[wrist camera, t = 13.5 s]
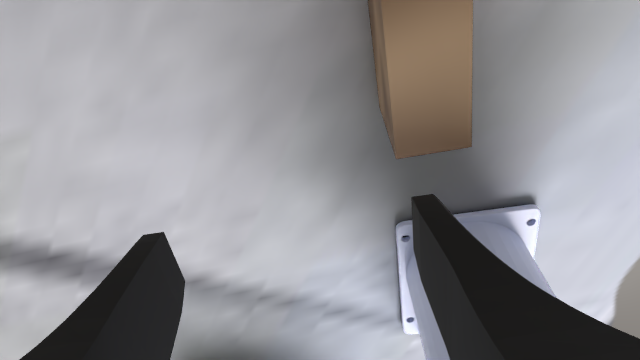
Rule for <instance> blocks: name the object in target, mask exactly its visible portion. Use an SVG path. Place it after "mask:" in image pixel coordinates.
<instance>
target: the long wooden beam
mask: <svg viewBox="0 0 640 360" xmlns="http://www.w3.org/2000/svg"><path fill="white" fill-rule="evenodd" d="M368 7H369V16H370V25H371V34H372V43H373V52H374V61H375V70H376V79H377V88H378V97H379V106H380V110H381V113H382V116H383V119H384V123H385V126H386V129H387V132H388V135H389V138H390V141H391V145H392V148H393V151H394V154H395V157H396V159H400V158H407V157H413V156H419V155H425V154H431V153H437V152H443V151H450V150H456V149H462V148H468V147H472V34H473V0H368Z"/></svg>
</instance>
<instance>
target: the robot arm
mask: <svg viewBox="0 0 640 360" xmlns="http://www.w3.org/2000/svg"><path fill="white" fill-rule="evenodd" d="M411 199H412V220H409V221H403V222H400V223H399V224H397V226H396V243H397V258H398V272H399V287H400V301H401V316H402V328H403V331H404V333H406V334H418V333H420V337H421V341H422V345H423V349H424V353H425V357H426V360H640V339H639V338H636V337H634V336H632V335H629V334H627V333H625V332H622V331H620V330H618V329H615V328H613V327H611V326H609V325H606V324H604V323H602V322H600V321H598V320H596V319H594V318H592V317H590V316H588V315H586V314H584V313H582V312H580V311H578V310H577V309H575V308H573V307H571V306H569V305H567V304H566V303H564V302H562V301H561V300H559V299H557V298H556V296H555V294H554V293H553V291H552V289H551V288H550V286H549V284H548V282H547V281H546V279H545V277H544V276H543V274H542V272H541V271H540V269H539V267H538V265H537V264H536V262H535V260H534V256H535V250H536V243H537V236H538V230H539V223H540V216H541V211H540V209H539V208H538V207H537V206H536V205H534V204H530V205H522V206H515V207H507V208H499V209H492V210H484V211H477V212H469V213H462V214H454V215H452V214H451V213H450V211H449V210H448V209H447V208H446V207H445V206H444V205H443V204H442V202H441V201H440V200H439V199H438V198H437V197H436V196H435V195H434V194H430V195H423V196H416V197H411ZM529 219H532V220H531V221H528V220H529ZM527 221H528V222H527ZM404 235H408V236H407V237H405V238H403V236H404ZM184 287H185V280H184V277H183V275H182V273H181V271H180V268H179V266H178V264H177V261H176V259H175V257H174V255H173V252H172V250H171V248H170V245H169V243H168V241H167V238H166V236H165V234H164V232H161V233H154V234H147V235H143V236H142V237H141V238H140V239H139V240H138V241H137V242H136V243H135V245H134V246H133V247H132V248H131V249H130V250H129V252H128V253H127V254H126V255H125V256H124V257H123V258H122V260H121V261H120V262H119V263H118V264H117V265H116V267H115V268H114V269H113V270H112V271H111V272H110V273H109V275H108V276H107V277H106V278H105V279H104V280H103V281H102V282H101V284H100V285H99V286H98V287H97V288H96V289H95V290H94V291H93V292H92V293H91V294H90V295H89V296H88V297H87V298H86V300H85V301H84V302H83V303H82V304H81V305H80V306H79V307H78V308H77V309H76V310H75V311H74V312H73V313H72V314H71V315H70V316H69V317H68V318H67V319H66V320H65V321H64V322H63V323H62V324H61V325H60V326H59V327H57V328H56V329H55V330H54V331H53V332H52V333H51V334H50V335H49V336H47V337H46V338H45V339H44V340H43V341H42V342H41V343H39V344H38V345H37V346H36V347H35V348H34V349H32V350H31V351H30V352H29V353H27V354H26V355H25V356H23V357H22V358H21V359H20V360H170V357H171V353H172V350H173V346H174V342H175V338H176V334H177V330H178V326H179V322H180V318H181V313H182V306H183V297H184ZM409 317H410V318H409Z"/></svg>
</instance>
